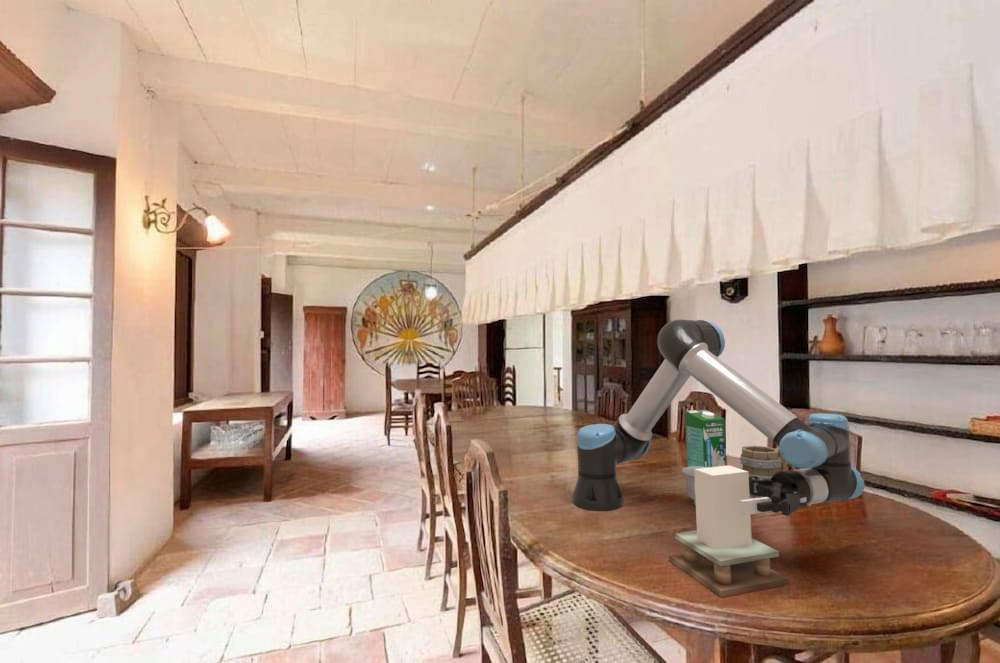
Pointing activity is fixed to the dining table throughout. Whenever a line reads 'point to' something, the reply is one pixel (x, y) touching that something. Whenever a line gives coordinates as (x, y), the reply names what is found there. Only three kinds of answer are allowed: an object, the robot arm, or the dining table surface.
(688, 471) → the teacup
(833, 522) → the dining table surface
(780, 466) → the tankard
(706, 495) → the cream rectangular block
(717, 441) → the milk carton
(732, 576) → the peg shelf
